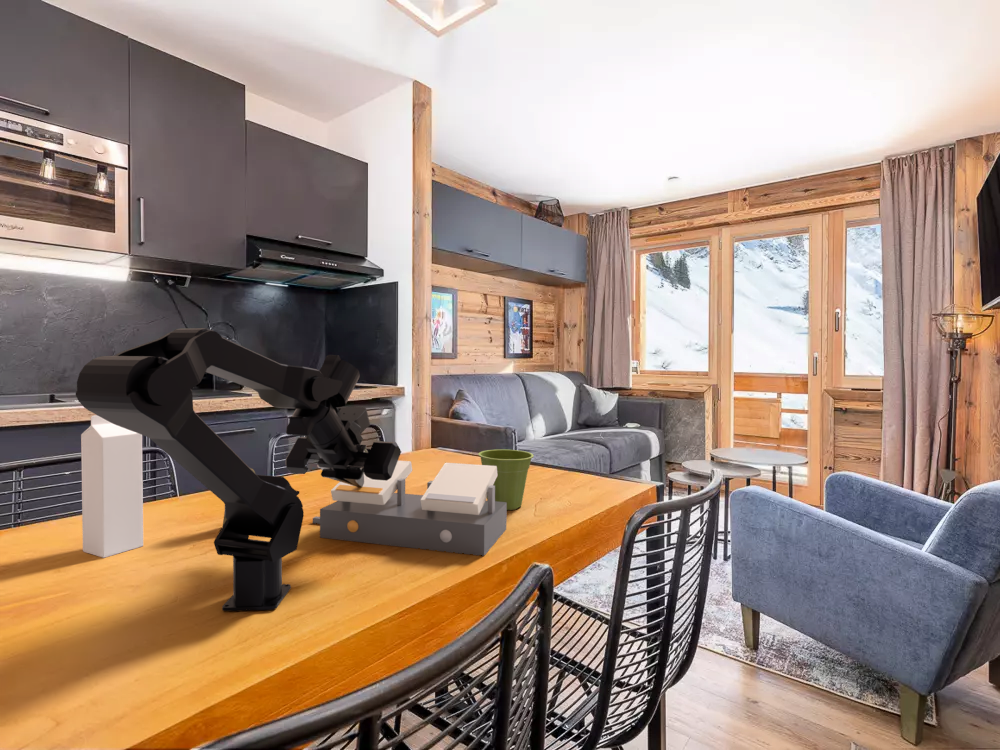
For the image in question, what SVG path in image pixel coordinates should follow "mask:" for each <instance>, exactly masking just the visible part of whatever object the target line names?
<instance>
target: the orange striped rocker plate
mask: <svg viewBox="0 0 1000 750" xmlns="http://www.w3.org/2000/svg"><path fill="white" fill-rule="evenodd" d="M412 465H413V464H412V461H410V460H409V461H408V460H398V462H397V464H396V467H395V469H394V472H393V474H392V477H391V478H390V479H389V480H387V481H386V480H373V479H370V478H368V477H366V475H365V474H364V484H363V487H356V486H353V485H350V484H347V483H343V482H340V481H338V483H337V484H335V486H334V487H333V488H331V490H330V494H331V497H332V498H331V500H332V501H334V502H336V501H345V502H356V503H367V504H378V505H384V504H385V503H386V502H387V501H388V500H389V498H390V497H391V496H392V495H393V494H394V493H396V491H397V480H399V479H401V478H402V479H405V480H407V478H408V476H410V474H411V473H412V472H413V466H412Z"/></svg>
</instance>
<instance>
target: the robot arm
mask: <svg viewBox="0 0 1000 750" xmlns="http://www.w3.org/2000/svg"><path fill="white" fill-rule="evenodd" d="M206 373H207V374H211V375H213V376H216V377H219V378H221V379H224V380H227V381H229V382H231V383H235V384H238V385H240V386H243V387H246V388H249V389H252V391H255V392H256V393H258V396H259V398H260V399H261V400H262V401H264V402H265V403H267V404H269V405H270V406H271V407H272V408H273V407H274V408H277V409H295V410H294V412H293V414H292V415H291V416H290V417H289V419H288V420H289V421H288V424H287V426H286V429H285V432H286V435H287V436H298V437H297V439H296V440H295V442H294V444H293V446H292V447H291V449H290V451H289V453H288V455H287V456H286V458H285V467H286V469H287V470H288V471H289V472H290V474H297V475H298V474H299V475H305V474H306V473H307V472H308V470H309V468H308V467H307V464H308V462H309V460H313V461H315V460H317V461H318V462H317V465H316V467H317V468H318V469H321V472H320V476H321V477H322V478H326V479H331V480H333V481H337V482H343V483H347V484H350V485H353V486H356V487H363V484H364V474H365V475H366V477H368V478H370V479H373V480H386V481H387V480H389V479H390V478H391V477H392V474H393V472H394V469H395V467H396V464H397V462H398V461H399V458H400V456H401V453H402V451H401V449H400V447H399V444H398V443H397V442H396V441H384V440H382V441H381V440H376V441H373V443H372V445H371V447H370V448H368V447H367V444H362V442H363V440H364V438H363V437H362V434H363V433H364V431H366V429H367V428H369V427H370V426H371V422H370V419H369V414H368V410H367V407H364V406H346V405H347V403H348V401H349V398H350V397H351V395H352V392H353V391H354V389H355V387H356V385H357V383H358V380H359V379H360V376H361V375H360V371H359V369H358V368H357V367H355V366H354V365H353V364H352V363H350V362H348V361H346V360H343V359H341V357H340V355H337V354H336V355H334V354H328V355H326V356H325V358H324V360H323V363H322V365H321V367H320V368H319V369H316V368H312V367H307V366H300V365H290V364H285V363H281V362H280V363H279V362H277V361H275V360H274V359H271V358H269V357H267V356H264V355H262V354H260V353H258V352H256V351H255V350H251V349H249V348H247V347H245V346H243V345H241V344H239V343H236V342H234V341H232V340H230V339H227V338H225V337H223V336H222V335H221V334H220V333H219V332H217V331H215V330H213V329H210V328H207V327H206V328H205V327H203V328H201V327H200V328H197V327H196V328H176V329H174V330H173V331H170V332H168V333H166V334H164V335H162V336H161V337H159V338H157V339H153V340H150V341H148V342H145V343H143V344H140V345H137V346H136V345H135V346H134V347H131V348H128V349H125V350H122V351H120V352H118V353H116V354H114V355H103V356H101V355H100V356H98V357H96V358H92V359H91V360H90V361H88V362H87V363H86V364H85V365H83V367H82V369H81V370H80V372H79V373H78V378H77V381H76V391H75V396H76V399H77V401H78V403H80V404H81V405H82V407H84V409H86V410H87V411H88V412H90V413H91V414H92V413H93V415H98V416H100V417H101V418H103V419H105V420H107V421H109V422H111V423H112V424H115V425H117V426H120V427H123V428H125V429H128V430H131V431H133V432H136V433H139V434H141V435H142V436H144V437H147V438H148V439H150V440H151V441H152V442H154V444H156V445H157V446H158V447H159V448H160V449H161V450H162V451H164V452H165V453H166V454H168V456H169V457H171V458H172V459H173V460H174V461H175V462H176V463H177V464H179V465H180V466H181V467H182V468H183V469H185V470H186V471H187V472H188V473H189V474H191V476H192V477H194V478H195V479H196V480H197V481H198V482H199V483H201V484H202V485H203V486H204V487H206V488H207V489H208V490H209V491H210V492H211V493H212V494H214V495H215V496H216V497H217V498H218V499H219V500H220V501H222V502H223V504H224V512H225V517H226V519H227V520H226V522H225V524H224V525H223V524H222V527H221V529H220V530H219V532H218V534H217V536H215V538H214V540H213V544H214V547H215V551H216V554H217V555H218V556H223V555H224V556H232V575H233V576H232V578H233V584H232V585H233V586H232V587H233V589H232V593H233V594H232V596H230V597H229V598H228V599H227V601H226V602H225V603H224V604H222V606H221V610H222V611H223V612H224V611H225V612H228V611H229V612H232V611H234V612H235V611H236V612H238V611H265V610H266V611H267V610H268V611H269V610H270V611H271V610H276V609H277V608H278V607H279V605H280V604H281V602H282V601H283V599H284V598H285V597H286V595H287V594H288V593H289V591H290V590H291V588H292V587H291V584H290V583H286V584H285V583H283V577H282V575H283V573H282V572H283V569H282V568H283V566H282V565H283V562H282V560H283V559H282V558H284V557H286V556H288V555H289V554H291V553H293V552H295V551H296V550H297V549H298V545H299V540H300V534H301V531H302V530H301V529H302V526H303V521H304V514H305V513H304V509H303V502H302V500H301V498H300V497H299V496H298V495H299V494H300V490H296V489H294V488H293V486H292V484H290V482H289V480H288V479H286V478H285V477H284V476H279V475H265V474H257V473H256V472H255V473H256V474H255V473H254V472H253V471H252V470H251V469H252V468H251V467H249V466H248V464H247V463H246V462H245V461H244V460H242V458H241V457H240V456H239V455H238V454H236V452H235V451H234V450H233V449H232V448H231V447H230V446H229V445H228V444H227V443H226V442H225V441H224V440H223V439H222V438H221V437H220V436H219V435H218V434H217V433H216V432H215V431H214V430H213V429H212V428H211V427H210V426H209V425H208V423H206V422H205V421H204V420H203V419H202V418H201V417H200V416H199V414H197V413H196V412H195V410H194V401H193V399H194V398H193V390H192V389H193V388H195V387H196V386H197V385H199V384H200V383H201V382H202V380H203V378H204V376H205V374H206ZM250 468H251V469H250ZM250 536H252V537H257V538H258V537H259V538H269V539H270V540H261V539H252V538H250Z"/></svg>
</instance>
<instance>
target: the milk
mask: <svg viewBox="0 0 1000 750" xmlns="http://www.w3.org/2000/svg"><path fill="white" fill-rule="evenodd" d="M80 439H81V442H80V443H81V447H80V449H81V506H82V507H81V509H82V510H81V511H82V512H81V514H82V516H81V517H82V518H81V519H82V520H81V521H82V525H81V526H82V552H83V553H87V554H91V555H94V556H97V557H98V558H103V559H105V558H108V557H111V556H115V555H118V554H121V553H124V552H128V551H131V550H134V549H138V548H141V547H143V546H144V502H143V500H144V498H143V497H144V495H143V493H144V491H143V489H144V486H143V484H144V483H143V482H144V481H143V480H144V477H143V435H141V434H139V433H136V432H133V431H131V430H128V429H125V428H123V427H120V426H117V425H115V424H112V423H111V422H109V421H107V420H105V419H103V418H101V417H100V416H98V415H96V414H93V415H91V417H90V426H89V427H88V428H87V429H85V430H84V431H83V432H82V433H81V434H80Z"/></svg>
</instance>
